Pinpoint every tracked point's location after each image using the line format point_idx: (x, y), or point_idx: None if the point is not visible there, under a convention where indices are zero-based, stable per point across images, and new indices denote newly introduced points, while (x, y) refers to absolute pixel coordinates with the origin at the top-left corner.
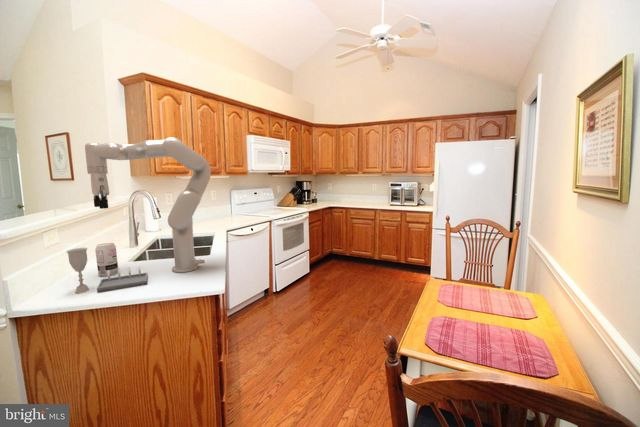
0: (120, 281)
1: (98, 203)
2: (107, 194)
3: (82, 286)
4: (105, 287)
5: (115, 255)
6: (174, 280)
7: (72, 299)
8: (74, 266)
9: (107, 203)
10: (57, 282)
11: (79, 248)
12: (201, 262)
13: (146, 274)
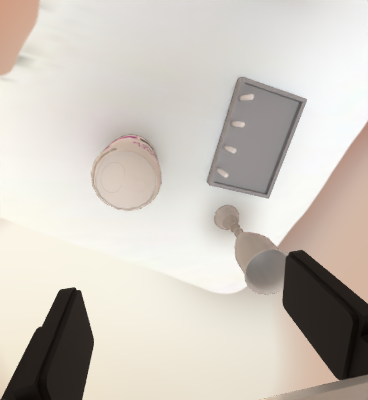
0: (243, 148)
1: (78, 346)
2: (357, 391)
3: (236, 221)
4: (273, 183)
5: (147, 146)
6: (329, 30)
7: (262, 232)
8: (262, 255)
9: (332, 280)
10: (120, 257)
11: (246, 267)
12: None
13: (260, 84)
